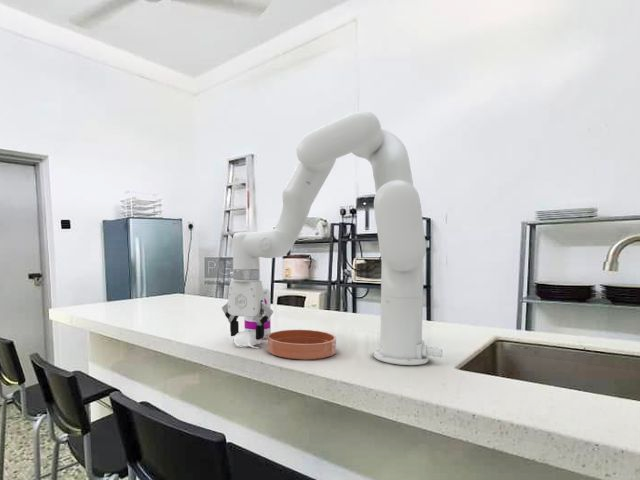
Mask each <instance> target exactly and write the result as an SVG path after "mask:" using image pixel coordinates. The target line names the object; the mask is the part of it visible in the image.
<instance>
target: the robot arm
mask: <svg viewBox="0 0 640 480" xmlns="http://www.w3.org/2000/svg"><path fill="white" fill-rule="evenodd" d="M349 154H352V155H354V156H356V157H357V158H361V159H365V160H367V161H368V162H369V163H370V165H371V169H372V177H373V182H374V187H375V188H374V190H375V195H374V198H373V211H374V219H375V226H376V233H377V241H378V250H379V254H380V257H381V270H380V271H381V275H380V276H381V278H380V279H381V280H380V328H379V329H380V333H379V334H380V339H379V340H380V341H379V348H377V349H375V350H374V351H373V357H374V358H375V359H376V360H377V361H381V362H383V363H387V364H392V365H400V366H419V365H424V364H427V363H428V362H429V360H430V356H431V357H436V358H442V357H443V349H442V348H439V347H438V346H437V347H436V346H428V345H427V344H426V340H425V339H424V340H423V313H424V312H423V307H424V306H423V305H424V303H423V302H424V258H425V256H426V253H427V243H426V235H425V229H424V220H423V212H422V204H421V199H420V195H419V192H418V190H417V189H416V187H415V186H414V181H413V175H412V169H411V164H410V157H409V154H408V150H407V148H406V146H405V144H404V142H403V141H402V140H401V139H400V138H399V137H398V136H397V135H396V134H394V133H392V132H391V131H389V130H386V129H383V128H382V125H381V122H380V120H379V118H378V116H376V115H375V114H374V113H373V112H371V111H368V110H357V111H354V112H351V113H349V114H346V115H344V116H342V117H340V118H338V119H336V120H333V121H331V122H329V123H326V124H324V125H322V126H320V127H318V128H316V129H314V130H311V131H310V132H308V133H306V134H305V135H304V136H303V137H302V138H300V140H299V142H298V144H297V146H296V158H297V159H298V161H297V164H296V165H295V168H294V170H293V171H292V173H291V175H290V178H289V179H288V181H287V182H286V184H285V186H284V188H283V190H282V209H281V213H280V216H279V218H278V221H277V222H276V224H275V226H274V228H273V229H272V230H271V229H268V230H260V231H256V232H254V231H239V232H235V233H234V234H233V236H232V271H230V272H229V276H230V277H232V280H230V282H229V288H228V294H227V303H225V304H224V305H223V306H221V310H222V312H223V313H224V316H225V318H226V319H227V320H228V323H229V324H230V325H229V331H230V337H235V335H236V334H237V333H239V332H240V331H239V328H240V327H239V326H240V325H239V320H238V319H239V317H254V318H255V320H256V322H257V325H256V339H257V340H259V339H262V338H263V336H264V324H266V322H267V321H268V320H269V319H270V317H272V315H273V314H274V310H273V309H272V308H271V307H270V308H269V307H268V306H267V305H266V304H265V303H264V292H263V288H264V286H263V281H262V280H261V278H260V276H261V275H260V258H263V259H264V258H265V259H274V258H275V259H276V258H282V257H285V256H286V255H287V254H289V252H290V251H291V249H292V248H293V246H294V244H295V243H296V242H297V239H298V237H299V236H300V234H301V233H302V230H303V228H304V226H305V223H306V221H307V218H308V216H309V213H310V211H311V208H312V205H313V204H314V202H315V200H316V198H317V196H318V194H319V192H320V191H321V189H322V187H323V185H324V183H325V181H326V180H327V178H328V176H329V174H330V173H331V171H332V169H333V167H334V166H335V164H336V161H337V159H339V158H341V157H344V156H346V155H349ZM264 311H265V312H266V314H265V316H264V317H263V314H264ZM262 340H263V339H262Z"/></svg>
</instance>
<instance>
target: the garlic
mask: <svg viewBox="0 0 640 480" xmlns="http://www.w3.org/2000/svg"><path fill="white" fill-rule="evenodd" d="M233 341H234V344H235V346H236V347H239V348H246V347H250V348H253V349H260V347H259V346H256V345H260V344H261V342H262V341H263V339H259V340H257V339H256V333H254V332H251V331H245V330H244V331H239V333H237V334H236V335H235V336H233Z"/></svg>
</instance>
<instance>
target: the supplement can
mask: <svg viewBox="0 0 640 480" xmlns="http://www.w3.org/2000/svg"><path fill="white" fill-rule="evenodd" d="M263 292H264V303H265V304H266V305H267V306H268V307H269V308H270V309H271V293H270V291H269V288H264V287H263ZM265 314H266V312H265V311H264V314H263V317H264V316H265ZM243 317H244V316H243ZM271 317H272V316H271ZM271 317H270V319H269V320H268V321H267V322H266V324H264V336H263V338H262V340H265V339H266V340H267V335H268V334H270V333H272V331H271V329H272V328H271V327H272V325H271V320H272V319H271ZM256 325H257V322H256V320H255V318H254V317H244V331H251V332H254V333H256Z"/></svg>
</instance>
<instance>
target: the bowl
mask: <svg viewBox="0 0 640 480" xmlns="http://www.w3.org/2000/svg"><path fill="white" fill-rule="evenodd" d="M266 350H267V352H268V353H270V354H271V355H274V356H277V357H280V358H283V359H290V360H302V361H303V360H309V361H310V360H320V359H323V358H328V357H332V356H333V355H336V353H337V336H336V335H334V334H333V333H329V332H326V331H320V330H314V329H313V330H312V329H284V330H283V329H282V330H277V331H273V332H272V331H271V333H270V334H268V335H267V338H266Z"/></svg>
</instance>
